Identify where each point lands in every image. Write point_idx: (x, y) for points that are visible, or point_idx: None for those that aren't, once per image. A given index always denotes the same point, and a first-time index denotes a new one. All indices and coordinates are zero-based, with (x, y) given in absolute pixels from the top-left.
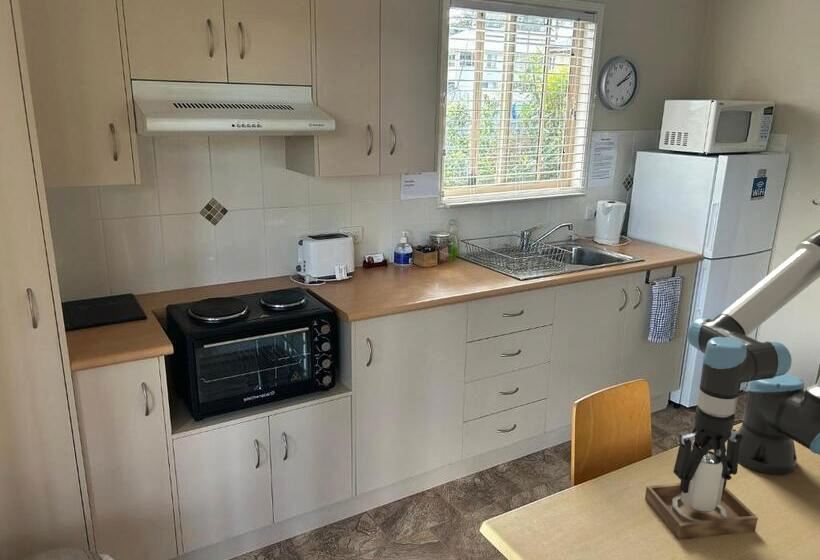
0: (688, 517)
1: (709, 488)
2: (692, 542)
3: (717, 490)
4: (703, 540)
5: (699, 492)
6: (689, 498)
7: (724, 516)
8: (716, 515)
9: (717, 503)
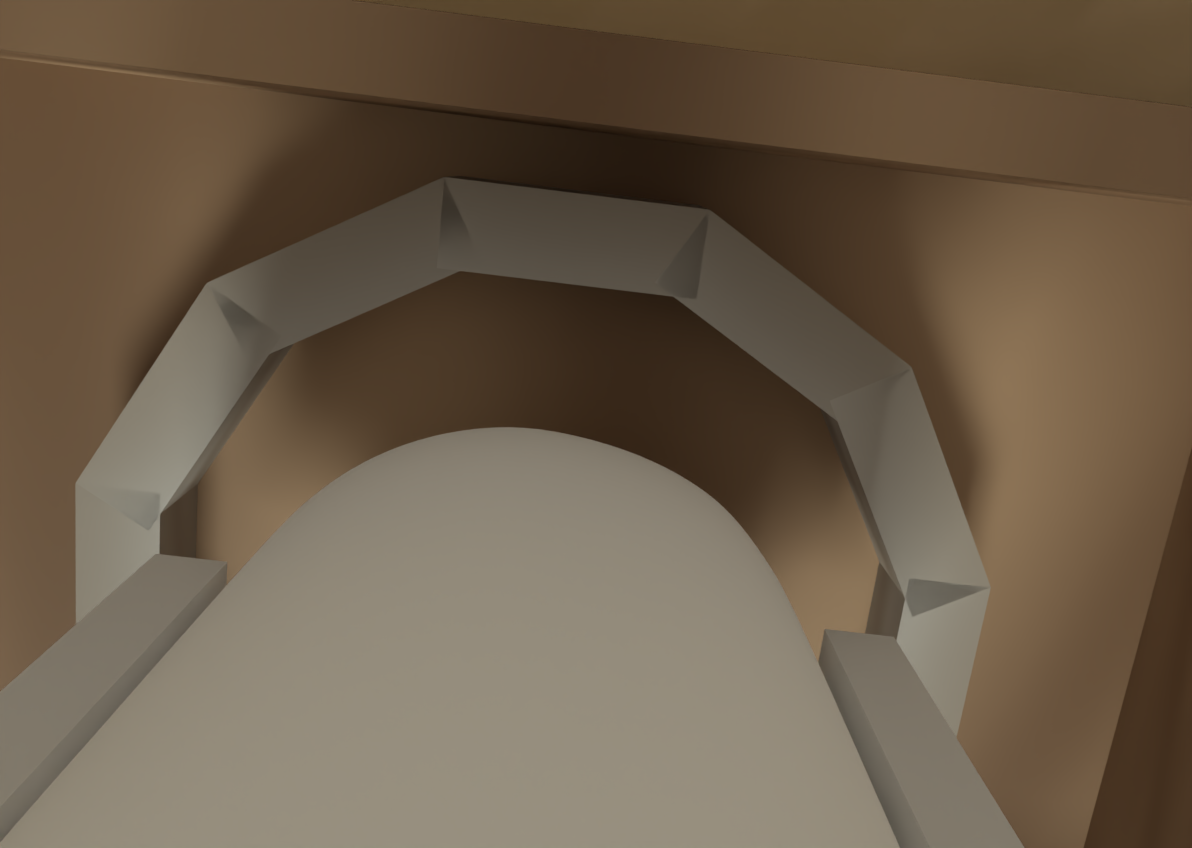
0: (912, 478)
1: (635, 761)
2: (1130, 35)
3: (232, 671)
4: (912, 26)
5: (851, 781)
6: (949, 757)
7: (227, 326)
8: (281, 468)
9: (206, 571)
